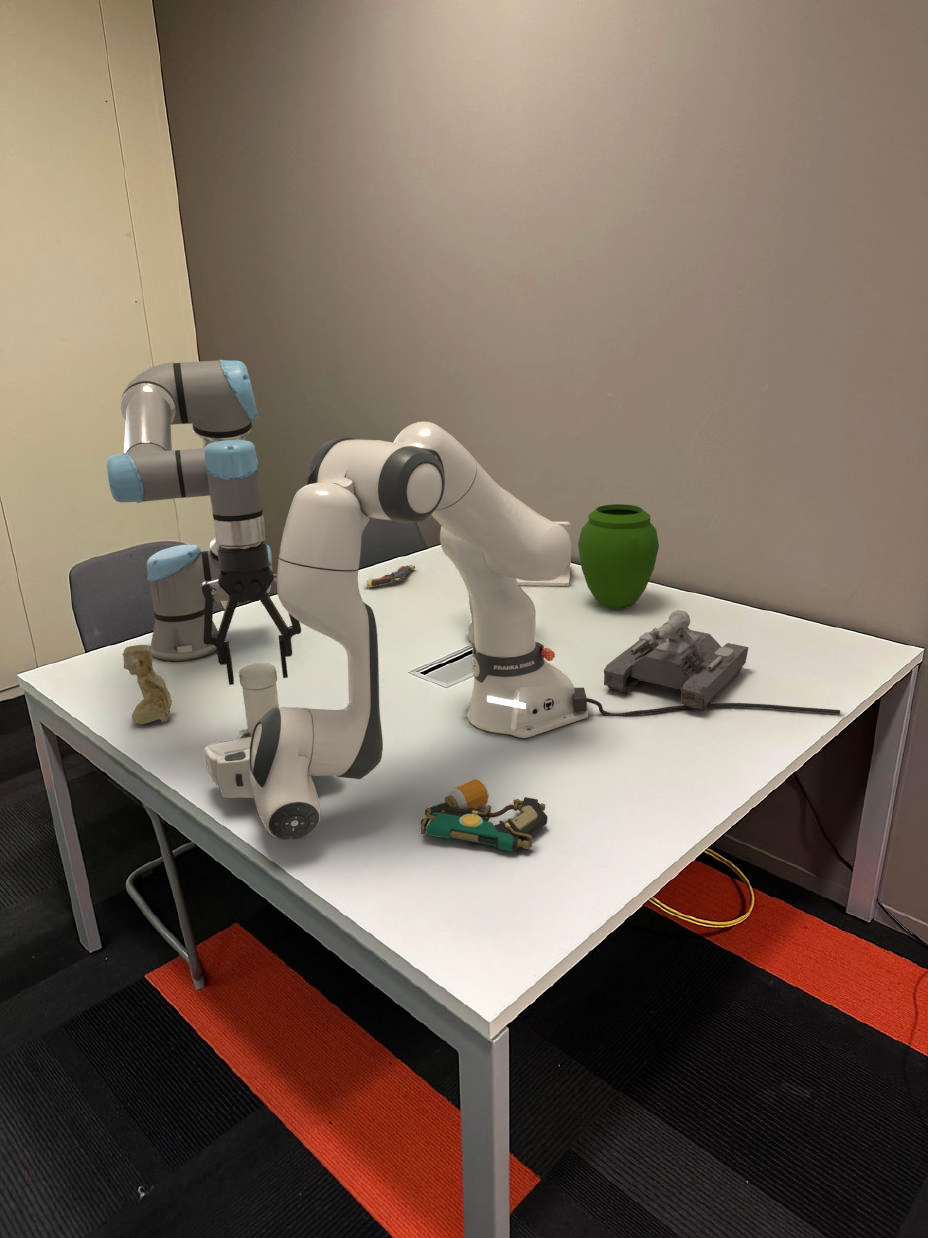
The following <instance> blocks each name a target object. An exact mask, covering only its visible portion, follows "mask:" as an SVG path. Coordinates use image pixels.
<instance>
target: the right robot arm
mask: <svg viewBox="0 0 928 1238" xmlns="http://www.w3.org/2000/svg"><path fill="white" fill-rule="evenodd" d="M506 490H507V489H504V488H503V487H501V486H500V485H499V484H498V483H497V482H496V481H495V480H494V479H493V478H492V477H491V475H490V474H489V473H488V472H487V471H486V470H485V469H484V468H483V467H482V465H481V464H480V463H479V462H478V461H477V460H476V459H475V457H474V456H473V455H472V453H471V452H469V450H468V449H466V447H465V446H464V445H463V444H461V443H460V441H459V440H457V438H455V437H454V436H453V435H452V434H451V433H449V432H448V431H446V430H444V428H442V427H440V426H439V425H438V424H436V423H434V422H432V421H431V422H430V421H417V422H414V423H411V424H409V425H407V426H406V427H404V428H403V429H402V430H401V431H400V432H399V433H398V434H397V436H396V437H395V439H394V440H393V442H392V441H386V440H382V439H381V440H380V439H356V438H353V437H340V438H335V439H331V440H329V441H327V442H325V443H323V444H322V445H321V446H320V447H319V448H318V449H317V451H316V453H315V454H314V456H313V458H312V461H311V463H310V466H309V470H308V476H307V478H306V485H304V486H303V487H301V488H300V489H298V490H297V491H296V493H295V495H294V496H293V498H292V501H291V504H290V507H289V510H288V513H287V517H286V520H285V524H284V528H283V532H282V537H281V541H280V547H279V553H278V560H277V569H276V570H277V571H276V574H277V583H276V594H277V597H278V599H279V602H280V604H281V606H282V607H283V608H284V609H285V611H286V612H287V613H288V615H289V614H290V615H292V616H293V617H294V618H295V619H296V620H298V621H299V622H300V624H302V625H304V626H306V627H308V628H309V629H311V630H313V631H316V632H318V633H319V634H322V635H324V636H326V637H328V638H330V639H332V640H334V641H335V642H337V643H338V644H340V645H341V647H342V648H343V649H344V650H345V653H346V658H347V685H348V686H347V688H348V704H347V705H346V707H345V708H342V709H327V708H324V709H323V708H309V707H298V706H297V707H295V706H279V707H274V708H273V709H271V710H270V711H268V712H267V713H266V714H265V715H264V716H263V717H262V718H261V719H260V720H259V721H258V723H257V724H256V725H255V728H254V730H253V734H252V737H249V732H248V728H247V729H241V730H238V733H239V734H238V735H237V736H236V737H235V738H234V739H232V740H226V741H220V742H215V743H210V744H208V745H207V746H205V748H204V757H205V763H206V768H207V772H208V774H209V777H210V779H211V780H212V782H213V783H214V784H215V785H216V786H218V787H219V789H220V793H221V797H223V798H225V799H241V798H243V799H253V800H254V804H255V807H256V810H257V813H258V816H259V818H260V820H261V822H262V825H263V826H264V828H265V829H266V831H267V832H268V833H269V834H270V835H271V836H273V837H274V838H276V839H279V840H283V841H293V840H299V839H302V838H305V837H307V836H308V835H310V834H311V833H313V832H314V831H315V830H316V829H317V827H318V825H319V823H320V821H321V805H320V799H319V795H318V792H317V788H316V785H315V783H314V780H313V778H312V777H313V776H314V777H315V776H317V777H321V776H322V777H337V778H344V779H354V780H361V779H363V778H364V777H366V776H367V775H368V774H371V772H372V771H374V770H375V768H377V766H378V765H379V764H380V763H381V761H382V757H383V751H384V740H383V731H382V730H383V729H382V721H381V711H380V709H381V708H380V670H379V667H380V666H379V664H380V663H379V641H378V639H379V638H378V628H377V622H376V616H375V614H374V611H373V608H372V607H371V606H370V605H369V604H367V603H366V602H364V601H363V600H364V599H363V598H362V595H361V591H360V587H359V568H360V563H361V562H360V561H361V551H362V536H363V533H364V532H365V531H364V530H365V529H366V527H367V525H368V523H369V522H371V519H375V520H384V521H385V520H386V521H393V522H395V523H399V524H416V523H421V522H423V521H425V520H427V519H428V518H429V517H430V516H431V517H433V519H434V520H435V521H436V522H437V523H438V524H439V525H440V531H439V543H440V546H441V549H442V552H443V554H445V556H446V557H447V558H448V559H449V560H450V561H451V563H453V565H454V566H455V568H456V569H457V571H458V573H459V574H460V576H461V579H462V581H463V583H464V585H465V588H466V591H467V594H468V598H469V597H470V600H471V604H472V610H473V621H474V640H475V644H473V645H472V655H471V668H472V676H473V687H472V688H473V689H472V694H471V699H470V700H471V701H470V705H469V708H468V712H467V720H468V721H469V723H470V724H472V725H473V726H474V727H476V728H478V729H479V730H481V731H486V732H489V733H496V734H504V735H510V736H513V737H517V738H520V739H528V738H531V737H535V736H536V735H537V736H538V735H540V734H542V733H545V732H549V731H551V730H555V729H557V728H560V727H564V726H567V725H569V724H573V723H575V722H578V721H581V720H585V719H587V718H588V717H589V708H588V704H589V703H590V704H593V705H595V706H596V707H598V711H599V713H600V714H602V715H603V716H607V717H631V716H638V715H649V714H657V713H663V712H671V711H678V710H689V709H692V708H691V707H688V706H685V705H683V704H680V705H671V706H665V707H659V708H651V709H650V708H649V709H639V710H632V711H631V710H630V711H626V712H620V713H619V712H618V713H617V712H615V713H613V712H608V711H607V710H604V708H603V704H602V703H601V702H600V701H598V700H596V699H592V698H589V697H587V694H586V689H585V687H574V684H573V682H572V680H571V679H570V677H569V676H568V675H567V674H566V673H565V672H564V671H562V670H561V669H559V668H558V667H556V666H555V665H553V664H552V663H550V662H552V661H553V660H554V658H555V657H556V653H555V652H554V650H552V649H551V648H550V647H545V646H544V644H542V643H540V642H538V641H536V625H537V624H536V622H537V621H536V620H537V619H536V614H537V613H536V607H535V603H534V601H533V600H532V598H531V597H530V596H529V595H528V593H526V592H525V591H524V590H523V589H522V587H521V585H519V584H518V582H517V580H516V578H517V579H521V580H525V581H551V580H554V579H556V578H558V577H559V576H560V575H561V574H562V573H563V572H564V570H565V569H566V567H567V566H568V563H569V561H570V558H571V557H572V550H573V549H572V547H573V546H572V541H571V536H570V537H569V534H568V532H567V531H566V529H565V528H564V527H562V526H561V525H559V524H556V523H555V522H556V521H552V520H550V519H548V518H547V517H545V516H543V515H541V514H540V513H538V512H537V511H535V510H534V509H533V508H531V507H530V506H528V505H527V504H526V503H524V502H523V501H521V500H520V499H518V498H517V497H516V496H514V494H512V493H511V492H510V493H511V494H512V495H511V494H510V493H508V492H507V491H508V490H507V491H506ZM571 559H572V558H571ZM706 708H753V709H754V708H755V709H769V710H770V709H771V710H782V711H783V710H784V711H795V712H807V713H820V714H821V713H822V714H835V715H840V714H841V709H833V708H832V709H831V708H817V707H805V706H791V705H780V704H767V703H749V702H748V703H747V702H711V703H709V704H708V706H707V707H706Z"/></svg>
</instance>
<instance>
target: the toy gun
mask: <svg viewBox="0 0 928 1238" xmlns="http://www.w3.org/2000/svg"><path fill="white" fill-rule="evenodd" d="M416 568H417V567H416V564H410V565H401V566H400V567H399V568H397V570H395V571H392V572H391V573H389V574H385V575H383V576H381V577H378V578H371V577H370V578H368V579H367V580H365V583H366V587H367V588H375V587H377V586H382V585H386V584H389V583H393V582H398V581H402V580H403V579H404V578H406V577H407V575H408V574H409V573H410V572H411V571H413V570H415V569H416Z"/></svg>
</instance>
